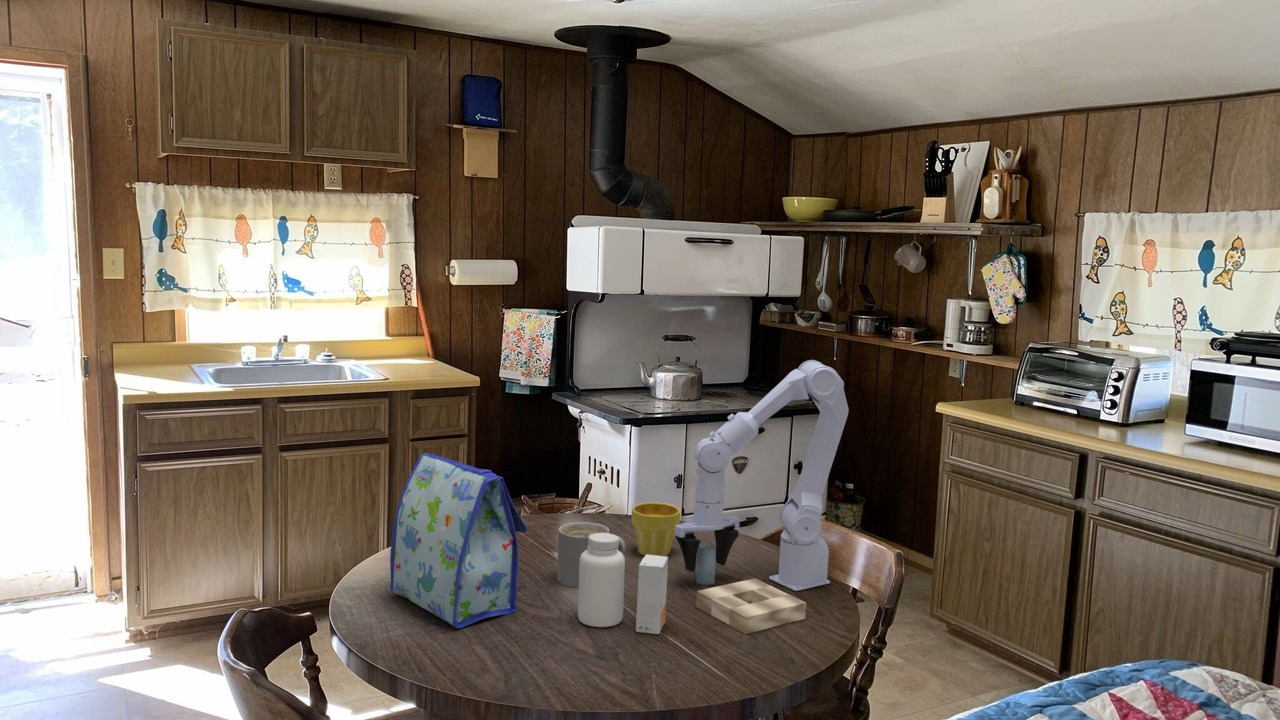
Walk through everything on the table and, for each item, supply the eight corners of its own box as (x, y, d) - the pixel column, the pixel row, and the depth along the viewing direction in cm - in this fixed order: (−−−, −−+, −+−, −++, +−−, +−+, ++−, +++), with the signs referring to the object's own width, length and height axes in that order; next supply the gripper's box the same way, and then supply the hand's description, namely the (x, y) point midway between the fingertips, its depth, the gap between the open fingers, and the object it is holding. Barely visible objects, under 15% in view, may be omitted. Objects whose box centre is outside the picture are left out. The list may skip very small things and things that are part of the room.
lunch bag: (531, 609, 172) (534, 467, 168) (454, 634, 160) (457, 482, 156) (456, 576, 187) (458, 445, 183) (381, 597, 175) (382, 457, 171)
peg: (706, 577, 191) (708, 543, 190) (718, 583, 188) (719, 548, 187) (692, 580, 189) (693, 546, 188) (703, 586, 186) (705, 551, 185)
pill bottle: (629, 615, 171) (632, 533, 169) (613, 631, 163) (616, 546, 161) (588, 607, 173) (590, 527, 171) (570, 624, 166) (573, 540, 164)
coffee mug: (557, 588, 182) (559, 537, 181) (556, 570, 192) (557, 521, 191) (627, 587, 184) (629, 537, 183) (622, 570, 194) (624, 522, 192)
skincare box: (659, 635, 162) (662, 567, 161) (635, 632, 163) (637, 564, 162) (666, 621, 168) (668, 556, 167) (642, 619, 169) (644, 553, 168)
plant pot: (679, 562, 200) (681, 516, 198) (629, 560, 200) (631, 514, 199) (677, 546, 210) (679, 502, 209) (630, 544, 210) (632, 501, 209)
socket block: (754, 593, 183) (755, 578, 183) (805, 618, 172) (806, 602, 172) (696, 606, 176) (696, 591, 175) (745, 634, 164) (746, 617, 164)
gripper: (725, 490, 194) (721, 555, 196) (666, 499, 186) (663, 566, 188) (747, 499, 188) (743, 566, 190) (688, 508, 180) (685, 577, 182)
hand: (705, 567), depth 188 cm, fingers open, 7 cm apart
